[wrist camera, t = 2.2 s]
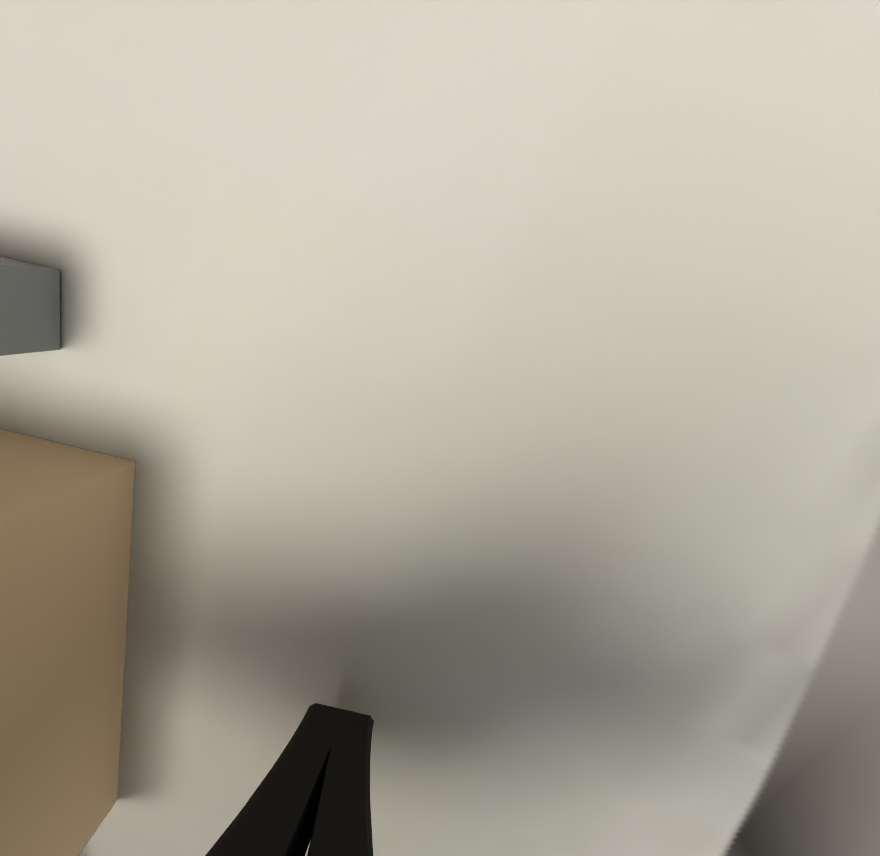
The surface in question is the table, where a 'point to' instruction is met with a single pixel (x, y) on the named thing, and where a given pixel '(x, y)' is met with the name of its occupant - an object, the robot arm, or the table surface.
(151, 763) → the table surface
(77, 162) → the table surface
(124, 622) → the carton
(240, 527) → the table surface
